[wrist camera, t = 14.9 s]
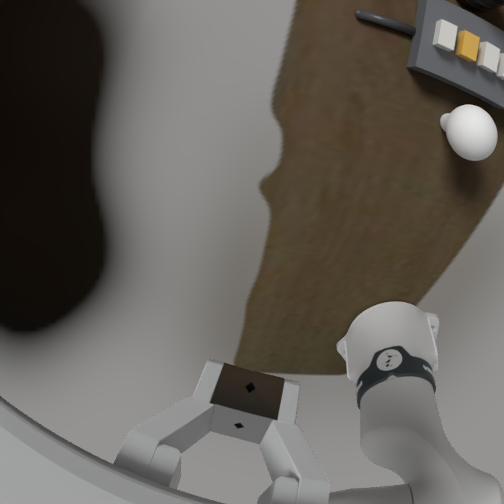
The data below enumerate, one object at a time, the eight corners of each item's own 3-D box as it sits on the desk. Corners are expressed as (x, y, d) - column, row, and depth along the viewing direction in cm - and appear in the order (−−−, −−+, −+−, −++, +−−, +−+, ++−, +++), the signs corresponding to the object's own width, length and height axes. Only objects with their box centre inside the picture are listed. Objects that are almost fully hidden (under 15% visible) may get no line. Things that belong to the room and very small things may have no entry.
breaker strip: (508, 44, 24) (530, 43, 19) (496, 107, 30) (518, 113, 25) (359, -20, 26) (365, -34, 21) (347, 48, 31) (352, 43, 26)
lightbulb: (473, 124, 32) (516, 142, 23) (445, 154, 35) (481, 179, 26) (445, 89, 31) (484, 95, 21) (416, 119, 34) (447, 134, 24)
